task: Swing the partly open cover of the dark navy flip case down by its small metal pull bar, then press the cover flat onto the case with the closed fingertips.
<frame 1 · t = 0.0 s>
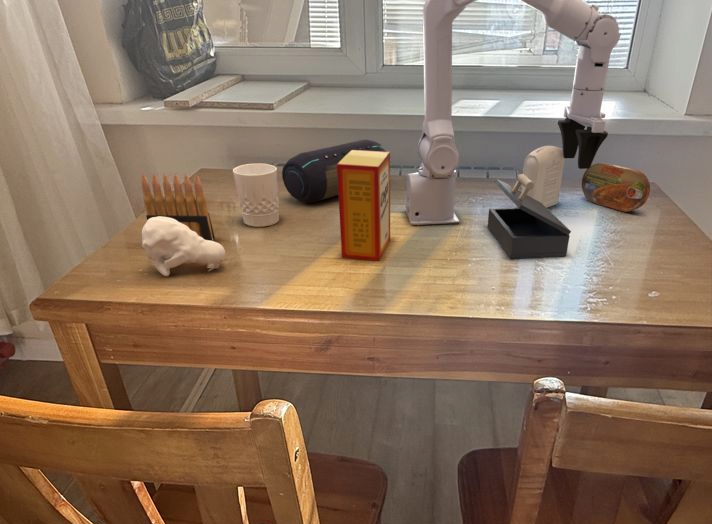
hand: (576, 162, 115), 10 cm above the table, tool pointing down, fingers open, 7 cm apart
cover: (536, 196, 102), point 8 cm above the table, hinge at 28.0°
portable speaker: (340, 193, 128), on the table
white cup: (261, 222, 112), on the table
ammunition clip: (183, 242, 103), on the table
white figurine: (190, 270, 94), on the table
tin: (611, 206, 124), on the table
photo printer: (538, 207, 123), on the table, touching gripper
baking soda box: (367, 249, 102), on the table
flip case: (524, 241, 106), on the table
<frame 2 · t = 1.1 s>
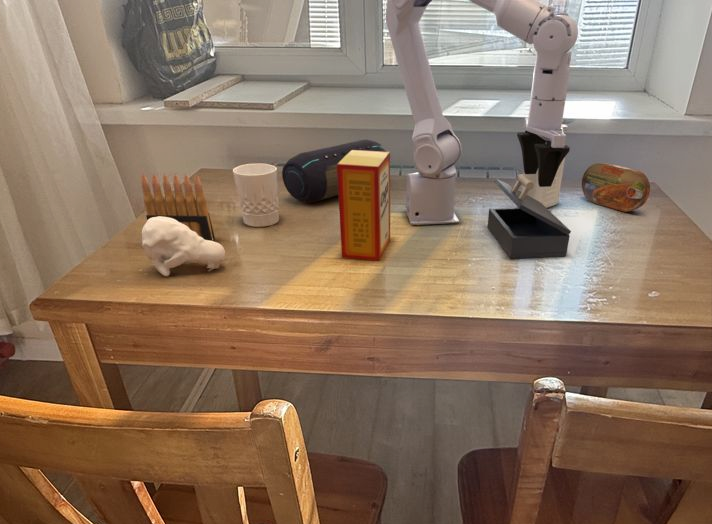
hand: (537, 179, 104), 10 cm above the table, tool pointing down, fingers open, 7 cm apart
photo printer: (538, 207, 123), on the table
everything else where it was.
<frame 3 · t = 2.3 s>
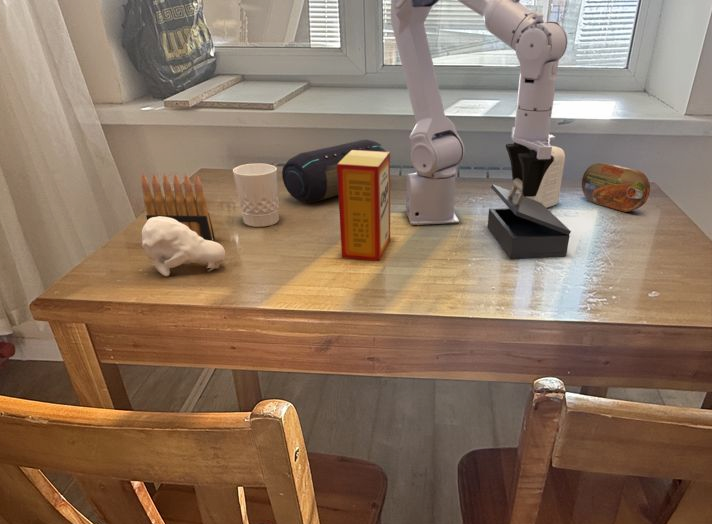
hand: (524, 191, 101), 9 cm above the table, tool pointing down, fingers closed on cover, 5 cm apart
cover: (533, 199, 102), point 8 cm above the table, hinge at 21.3°, touching gripper
everything else where it was.
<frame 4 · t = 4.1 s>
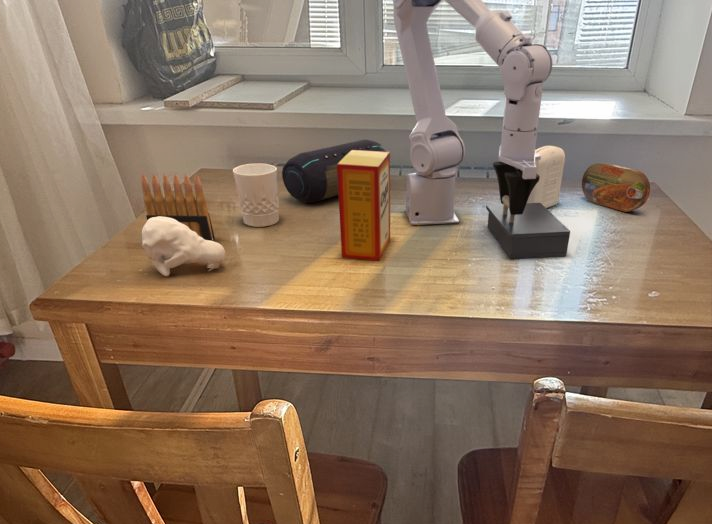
hand: (511, 208, 102), 6 cm above the table, tool pointing down, fingers closed on cover, 5 cm apart
cover: (526, 210, 103), point 6 cm above the table, hinge at -0.3°, touching flip case, gripper
everything else where it was.
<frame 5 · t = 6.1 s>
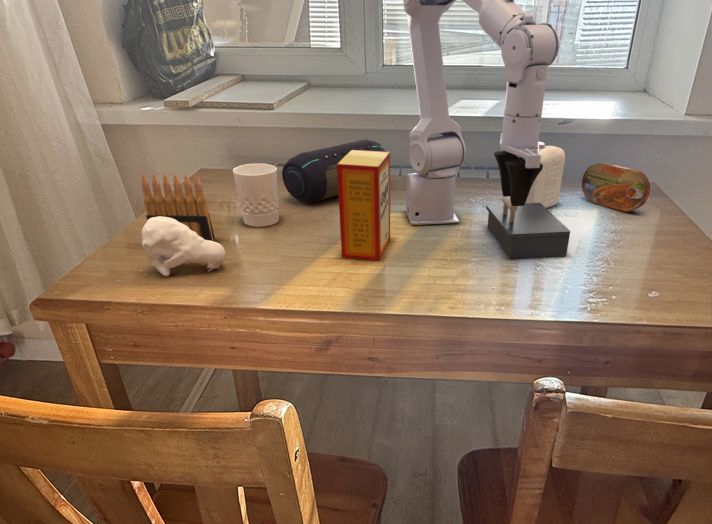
hand: (513, 200, 96), 9 cm above the table, tool pointing down, fingers open, 4 cm apart
cover: (526, 210, 103), point 6 cm above the table, hinge at -0.3°
everything else where it was.
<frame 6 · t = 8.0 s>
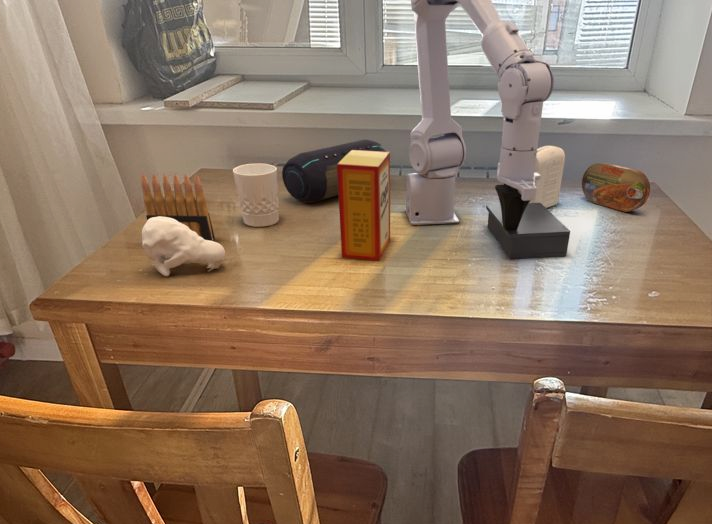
hand: (510, 228, 99), 4 cm above the table, tool pointing down, fingers closed, pressing on cover
cover: (526, 210, 103), point 6 cm above the table, hinge at -0.3°, touching flip case, gripper
everything else where it was.
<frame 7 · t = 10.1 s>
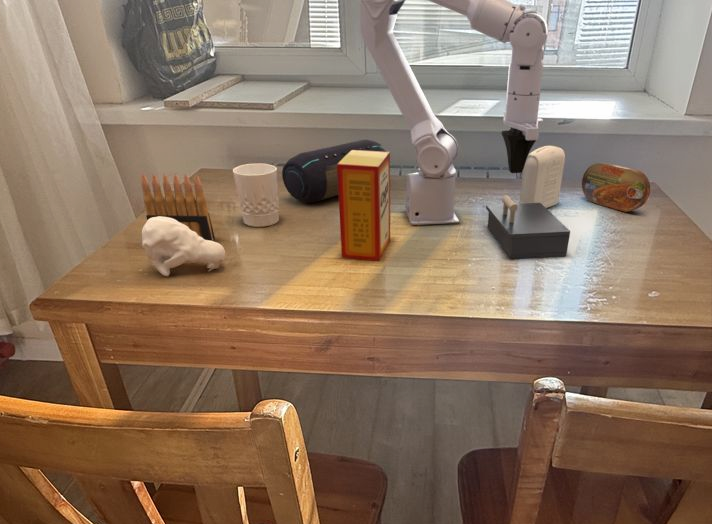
hand: (515, 172, 108), 10 cm above the table, tool pointing down, fingers closed
cover: (526, 210, 103), point 6 cm above the table, hinge at -0.3°, touching flip case
everything else where it was.
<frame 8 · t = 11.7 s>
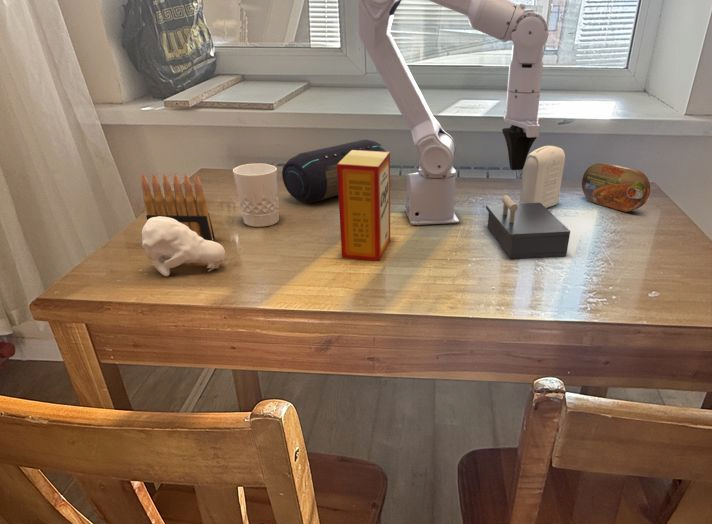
hand: (516, 169, 109), 10 cm above the table, tool pointing down, fingers closed
nothing on the table moved.
at the end: cover at +0° (first picture: +28°); the gripper is holding nothing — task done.
